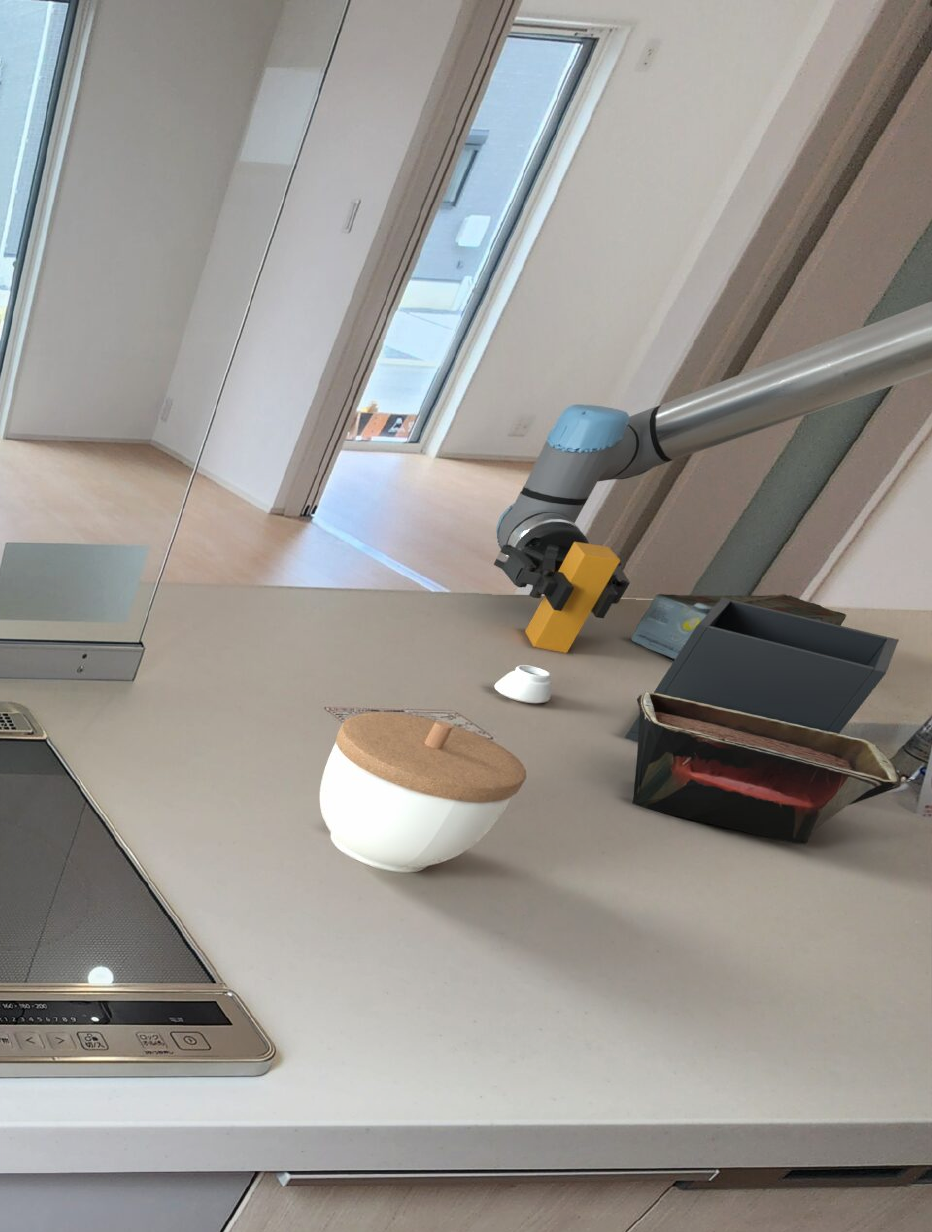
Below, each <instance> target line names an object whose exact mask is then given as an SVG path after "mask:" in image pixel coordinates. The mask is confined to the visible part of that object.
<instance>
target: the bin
mask: <svg viewBox="0 0 932 1232" xmlns="http://www.w3.org/2000/svg"><path fill="white" fill-rule="evenodd" d="M898 643H899V639H898V638H894V637H889V636H886V635H881V634H877V633H873V632H868V631H864V630H860V629H856V628H852V627H849V626H848V627H847V626H844V625H841V626H839V625H835V624H831V623H827V622H823V621H818V620H814V619H810V618H806V617H802V616H797V615H793V614H789V613H785V612H781V611H776V610H772V609H768V608H764V607H760V606H756V605H751V604H747V603H743V602H739V601H735V600H730V599H726V598H722V599H721V600H720V601H719V602H718V603H717V604H716V605H715V606H714V607H713V609H712V610H711V611H710V612H709V613H708V614H707V615H706V616H705V617H704V618H703V619H702V620H701V622H700V623H699V624H698V625H697V626H696V628H695V629H694V631H693V632H692V634H691V635H690V637H689V638H688V640H687V642H686V643H685V645H684V646H683V648H682V649H681V651H680V652H679V654H678V655H677V657H676V659H673V661H672V663H671V665H670V666H669V668H668V670H667V671H666V673H665V674H664V676H663V677H662V679H661V680H660V682H659V683H658V685H657V686H656V688H655V690H654V691H653V693H656V694H663V695H667V696H671V697H675V698H680V699H685V700H689V701H694V702H699V703H704V704H709V705H712V706H716V707H721V708H725V709H730V710H735V711H740V712H744V713H748V714H752V715H757V716H762V717H766V718H769V719H775V720H779V721H783V722H788V723H792V724H797V725H801V726H805V727H809V728H815V729H819V730H822V731H828V732H833V733H837V734H841V732H842V731H843V730H844V728H845V727H846V725H847V724H848V723H849V722H850V720H851V719H852V718H853V716H854V715H855V714H856V713H857V711H858V710H859V709H860V707H861V706H862V705H863V703H864V702H865V701H866V700H867V698H868V697H869V696H870V694H871V693H872V692H873V691H874V689H875V688H876V687H877V685H878V684H879V683H880V682H881V680H882V679H883V678H884V676H885V675H886V674H887V672H888V669H889V667H890V664H891V661H892V659H893V656H894V653H895V651H896V649H897V646H898ZM639 719H640V713H639V714H638V716H637V717H636V719H635V720H634V722H633V724H632V725H631V727H630V728H629V730H628V731H627V732H626V734H625V736H624V739H627V740H630V741H633V742H636V743H638V735H639Z"/></svg>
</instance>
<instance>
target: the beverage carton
mask: <svg viewBox="0 0 932 1232" xmlns="http://www.w3.org/2000/svg"><path fill="white" fill-rule="evenodd" d="M722 598H726V599H730V600H735V601H739V602H743V603H747V604H751V605H756V606H760V607H764V608H768V609H772V610H776V611H781V612H785V613H789V614H793V615H797V616H802V617H806V618H810V619H814V620H818V621H823V622H827V623H831V624H835V625H839V626H842V624H843V622H844V621H845V620H846V618H847V614H846V613H843V612H840V611H836V610H832V609H829V608H826V607H823V606H822V605H820V604H817V603H815V602H810V601H807V600H804V599H801V598H798V597H795V596H792V595H787V594H786V593H781V594H777V595H776V594H770V595H768V594H767V595H751V594H750V595H733V594H732V595H710V594H709V595H708V594H707V595H706V594H705V595H703V594H700V595H699V594H697V595H696V594H685V595H684V594H674V593H673V594H666V593H665V594H663V593H659V594H656V595H655V596H654V598H653V599H652V601H651V603H650V605H649V606H648V608H647V610H646V611H645V613H644V615H642V617H641V618H640V621H639V622H638V624H637V626H636V628H635V630H634V633H633V634H632V637H631V642H633V643H635V644H638V645H640V646H642V647H644V648H646V649H648V650H650V651H653V652H656V653H658V654H661V655H664V656H666V657H667V658H670V659H672V660H675V659H676V657H677V655H678V654H679V652H680V651H681V649H682V648H683V646H684V645H685V643H686V642H687V640H688V638H689V637H690V635H691V634H692V632H693V631H694V629H695V628H696V626H697V625H698V624H699V623H700V622H701V620H702V619H703V618H704V617H705V616H706V615H707V614H708V613H709V612H710V611H711V610H712V609H713V607H714V606H715V605H716V604H717V603H718V602H719V601H720V600H721V599H722Z"/></svg>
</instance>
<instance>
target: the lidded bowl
mask: <svg viewBox="0 0 932 1232" xmlns="http://www.w3.org/2000/svg"><path fill="white" fill-rule="evenodd" d="M526 779H527V770H526V768H525V766H524V764H523V763H522V761H521V760H520V759H519V758H518V757H517V756H515V755H514V754H513V753H512V752H511V751H509V750H508V749H506V748H505V747H504V746H502V745H500V744H498V743H496V742H494V741H493V740H491V739H489V738H487V737H484V736H483V735H480V734H478V733H476V732H473V731H470V730H468V729H466V728H462V727H460V726H457V725H454V724H452V723H450V722H447V721H445V720H436V719H432V718H428V717H422V716H418V715H411V714H405V713H397V712H367V713H359V714H356V715H354V716H353V715H352V716H351V717H348V718H347V719H346V720H344V721H343V723H341V724H340V727H339V729H338V732H337V733H336V738H335V743H334V745H333V746H332V748H331V751H330V753H329V756H328V758H327V761H326V764H325V766H324V771H323V773H322V777H321V780H320V781H321V782H320V786H319V808H320V812H321V813H320V814H321V816H322V818H323V821H324V823H325V825H326V827H327V829H328V831H329V832H330V840H331V842H332V844H333V845H334V846H335V848H337V849H338V850H339V851H340V852H342V853H343V854H345V855H346V856H348V857H350V858H351V859H353V860H355V861H357V862H359V863H361V864H364V865H367V866H369V867H372V868H375V869H378V870H381V871H386V872H392V873H405V874H410V873H417V872H421V871H423V870H425V869H426V868H427V867H429V866H434V865H438V864H441V863H444V862H447V861H449V860H451V859H454V858H456V857H458V856H460V855H461V854H464V853H465V852H466V851H467V850H469V849H470V848H472V847H473V846H474V845H476V844H477V843H478V842H479V841H480V840H481V839H482V838H484V836H485V835H486V834H487V833H488V832H489V831H490V830H491V829H492V827H494V826H495V824H496V822H497V821H498V820H499V819H500V818H501V816H502V814H503V813H504V811H505V810H506V808H507V807H508V805H509V803H510V802H511V800H512V798H513V797H514V796H515V795H516V794H518V792H519V791H520V789H521V788H522V786H523V784H524V782H525V781H526Z"/></svg>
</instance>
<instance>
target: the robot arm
mask: <svg viewBox="0 0 932 1232" xmlns="http://www.w3.org/2000/svg"><path fill="white" fill-rule="evenodd" d="M931 373H932V300H931V301H928V302H926V303H922V304H921V305H917V306H915V307H913V308H910V309H908V310H905V311H902V312H900V313H896V314H894V315H891V316H889V317H887V318H884V319H881V320H879V321H876V322H873V323H871V324H868V325H865V326H863V327H861V328H858V329H855V330H853V331H849V332H847V333H845V334H842V335H839V336H837V337H834V338H832V339H829V340H827V341H824V342H821V343H818V344H816V345H814V346H810V347H808V348H805V349H803V350H801V351H798V352H795V353H792V354H790V355H788V356H785V357H782V358H779V359H777V360H774V361H772V362H769V363H766V364H764V365H761V366H758V367H756V368H753V369H751V370H748V371H746V372H742V373H740V374H738V375H735V376H732V377H730V378H728V379H727V378H726V379H725V380H722V381H719V382H717V383H714V384H712V385H708V386H705V387H704V388H701V389H699V390H695V391H693V392H691V393H688V394H686V395H683V396H680V397H678V398H675V399H672V400H670V401H667V402H665V403H661V404H660V405H657V406H654V407H652V408H648V409H646V410H643V411H640V412H638V413H635V414H633V415H631V416H630V415H629V413H628V412H627V411H624V410H621V409H619V408H613V407H607V406H601V405H594V404H573V405H570V406H569V405H568V406H567V407H565V408H564V410H563V411H562V412H561V414H560V415H559V417H558V418H557V420H556V422H555V424H554V425H553V427H552V428H551V430H550V431H549V432H548V434H547V436H546V440H545V442H544V444H543V446H542V449H541V451H540V452H539V455H538V457H537V459H536V461H535V463H534V465H533V467H532V468H531V470H530V473H529V475H528V477H527V479H526V481H525V483H524V484H523V485H524V486H523V487H522V489H521V491H519V493H518V496H517V498H516V500H515V502H514V503H512V504H511V505H510V506H509V507H508V508H506V509H505V510H504V511H503V513H502V514H501V516H500V517H499V519H498V521H497V524H496V529H495V530H496V531H495V532H496V539H497V543H498V545H497V546H498V547H499V549H500V551H499V552H498V554H497V556H496V559H495V561H494V563H493V565H494V566H496V567H497V568H499V569H500V570H502V571H503V572H504V574H505V575H506V576H507V578H508V579H509V580H510V582H512V583H513V585H514V586H516V587H518V588H526V587H527V586H528V585H529V586H532V587H531V590H530V591H529V594H528V596H529V597H530V598H535V599H541V597H542V596H545V597H546V598H547V600H548V602H549V603H550V605H551V606H552V608H553V609H554V610H558V611H562V609H563V607H564V605H565V603H566V602H567V600H568V598H569V596H570V595H571V593H572V591H573V589H574V587H573V586H572V584H571V583H570V582H569V580H568V579H567V578H566V576H565V575H564V574H563V573H562V572H558V570H559V569H560V567H561V565H562V563H563V561H564V559H565V558H566V556H567V554H568V552H569V550H570V549H571V547H572V545H573V543H574V542H580V543H586V544H590V542H589V539H588V538H587V537H586V535H585V534H584V533H583V531H582V530H581V528H580V527H579V526H578V525H577V524H576V521H577V520H578V518H579V516H580V514H581V512H582V510H583V509H584V506H585V505H586V503H587V502H588V500H589V498H590V496H591V495H592V492H593V490H594V489H595V487H596V485H597V483H599V482H604V481H611V480H612V481H613V480H626V479H630V478H633V477H637V476H640V475H642V474H644V473H647V472H648V471H651V470H652V469H654V468H656V467H659V466H661V465H665V464H667V463H670V462H671V461H675V460H678V459H682V458H683V457H687V456H689V455H692V454H696V453H699V452H701V451H705V450H707V449H710V448H714V447H716V446H720V445H722V444H725V443H727V442H728V443H729V442H731V441H733V440H737V439H739V438H743V437H746V436H749V435H751V434H754V433H757V432H760V431H763V430H766V429H770V428H772V427H775V426H778V425H780V424H781V425H782V424H784V423H786V422H791V421H793V420H795V419H798V418H801V417H804V416H808V415H810V414H813V413H816V412H819V411H821V410H825V409H828V408H830V407H834V406H836V405H839V404H843V403H846V402H848V401H851V400H855V399H857V398H860V397H864V396H867V395H868V394H869V395H870V394H872V393H875V392H878V391H881V390H884V389H886V388H889V387H892V386H895V385H896V386H897V385H898V384H901V383H904V382H907V381H910V380H912V379H913V380H914V379H916V378H919V377H922V376H925V375H928V374H931ZM624 567H625V564H622V562H619V564H618V566H617V567H616V569H615V571H614V573H613V574H612V576H611V578H610V579H609V581H608V583H607V585H606V586H605V588H604V589H603V591H602V593H601V595H600V596H599V598H598V600H597V602H596V603H595V605H594V607H593V608H592V610H591V613H592V614H593V615H594V617H595V618H599V619H604V618H605V616H606V615H607V613H608V612H609V610H610V608H611V607H612V605H613V604H614V605H615V604H619V602H620V601H621V599H622V598H623V596H624V594H625V593H626V591H627V589H628V587H629V585H630V584H631V582H630V580H629V578H628V577H627V574H626V573H625V572H624V571H623V568H624Z"/></svg>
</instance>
